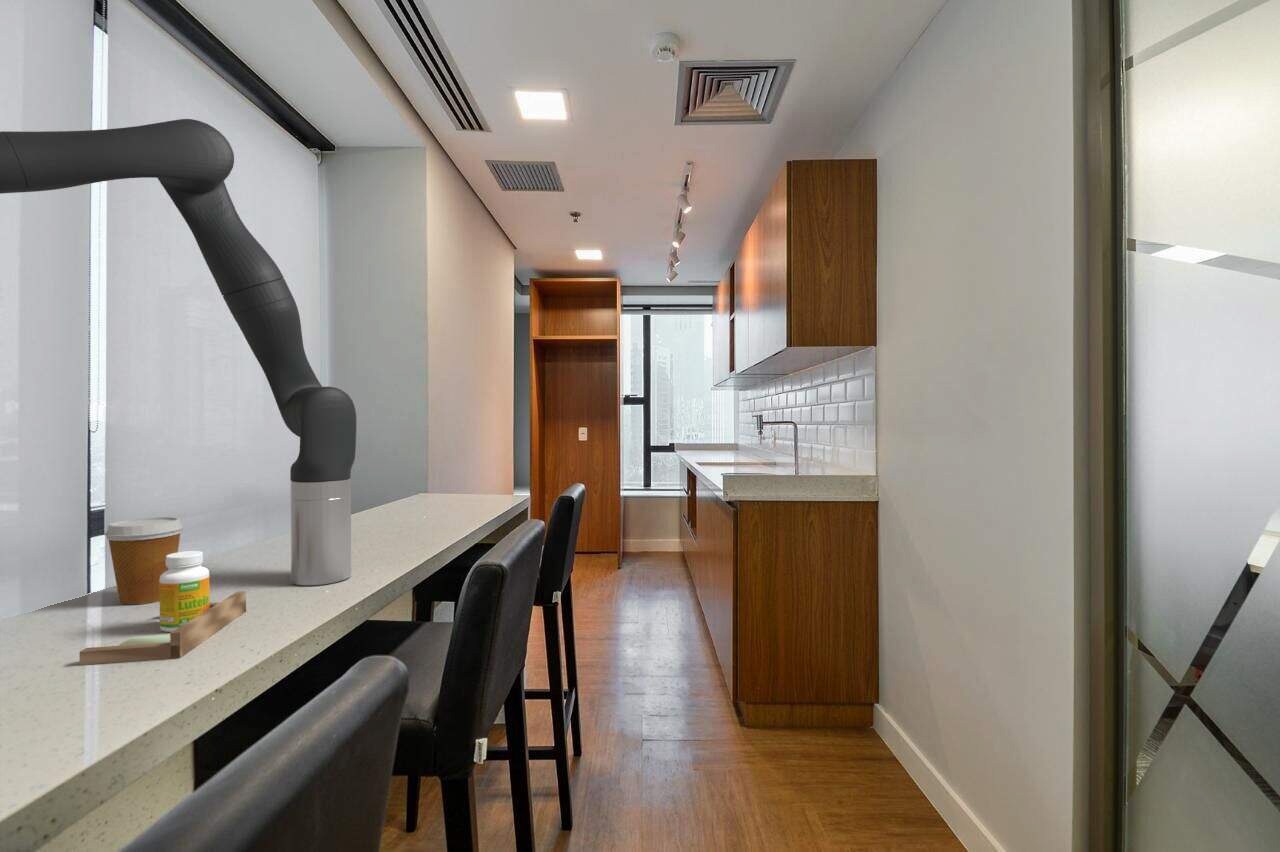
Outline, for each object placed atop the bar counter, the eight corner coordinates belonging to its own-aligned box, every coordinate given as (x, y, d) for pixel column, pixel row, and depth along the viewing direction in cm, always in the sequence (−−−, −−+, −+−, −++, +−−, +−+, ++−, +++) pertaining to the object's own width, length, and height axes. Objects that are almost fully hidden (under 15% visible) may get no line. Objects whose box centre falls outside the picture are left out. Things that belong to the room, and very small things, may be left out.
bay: (166, 615, 86) (166, 594, 86) (246, 611, 88) (245, 590, 88) (79, 664, 69) (79, 638, 69) (180, 657, 71) (179, 632, 71)
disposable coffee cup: (140, 610, 88) (139, 528, 88) (88, 606, 90) (87, 525, 90) (200, 592, 98) (199, 517, 98) (151, 588, 100) (150, 515, 99)
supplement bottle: (177, 635, 78) (176, 559, 78) (150, 630, 80) (149, 556, 80) (219, 622, 83) (218, 551, 83) (192, 617, 85) (191, 548, 85)
